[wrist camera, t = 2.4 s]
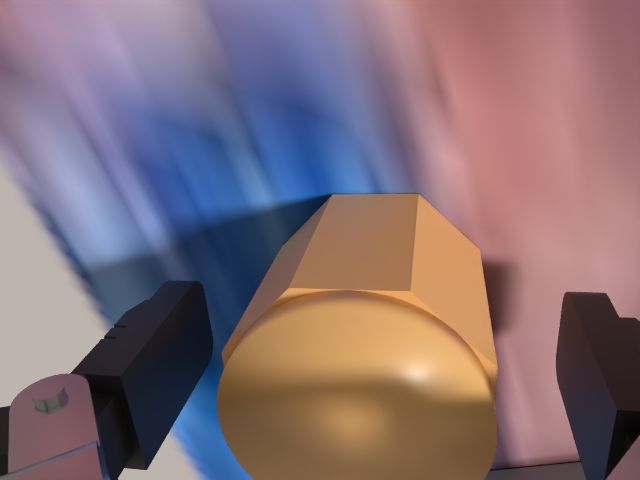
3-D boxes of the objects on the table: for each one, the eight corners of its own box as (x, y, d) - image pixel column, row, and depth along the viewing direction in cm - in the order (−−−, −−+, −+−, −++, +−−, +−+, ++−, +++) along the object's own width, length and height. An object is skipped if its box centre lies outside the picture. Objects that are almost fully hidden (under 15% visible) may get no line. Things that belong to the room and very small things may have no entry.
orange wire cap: (274, 194, 14) (195, 304, 9) (482, 192, 13) (507, 314, 8) (294, 358, 16) (236, 512, 11) (474, 367, 15) (490, 541, 10)
